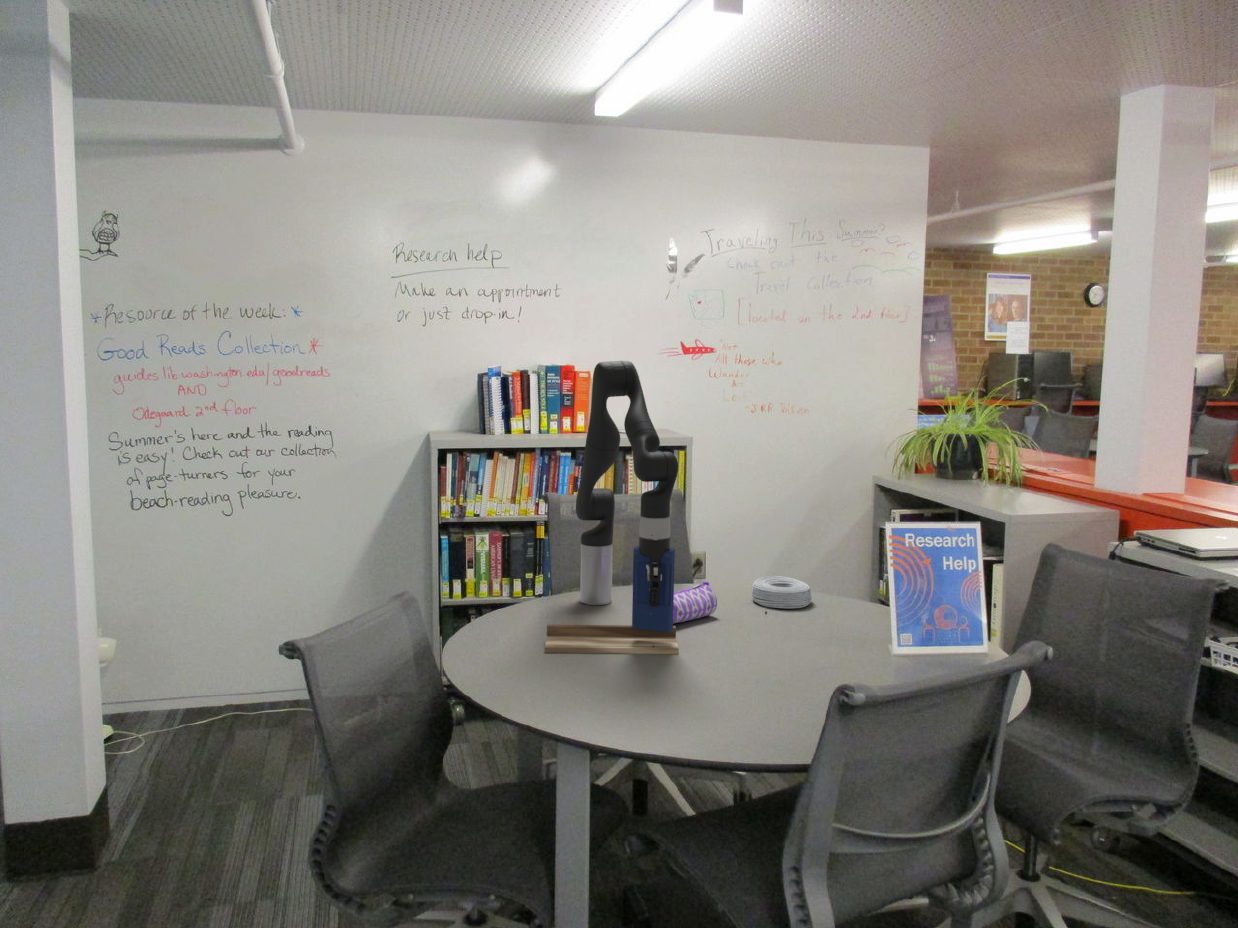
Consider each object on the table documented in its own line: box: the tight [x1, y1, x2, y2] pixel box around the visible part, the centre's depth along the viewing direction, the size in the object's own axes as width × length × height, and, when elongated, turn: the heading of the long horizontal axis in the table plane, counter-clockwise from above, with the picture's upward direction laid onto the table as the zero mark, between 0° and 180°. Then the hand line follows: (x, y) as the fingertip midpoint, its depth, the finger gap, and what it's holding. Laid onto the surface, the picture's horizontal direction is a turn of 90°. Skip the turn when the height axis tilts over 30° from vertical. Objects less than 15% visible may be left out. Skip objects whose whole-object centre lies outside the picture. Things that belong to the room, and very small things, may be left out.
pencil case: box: [673, 581, 718, 625], centre depth 236 cm, size 22×9×10 cm, turn 134°
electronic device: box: [631, 545, 676, 633], centre depth 212 cm, size 10×5×20 cm, turn 75°
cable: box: [751, 575, 813, 610], centre depth 257 cm, size 18×18×6 cm
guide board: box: [544, 624, 680, 655], centre depth 213 cm, size 10×32×4 cm, turn 91°
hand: (653, 602), depth 212 cm, fingers closed on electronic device, 6 cm apart
